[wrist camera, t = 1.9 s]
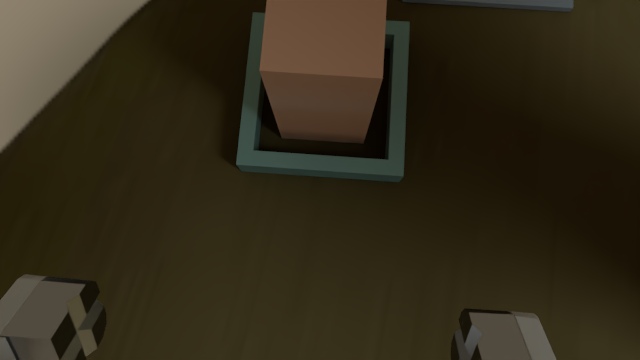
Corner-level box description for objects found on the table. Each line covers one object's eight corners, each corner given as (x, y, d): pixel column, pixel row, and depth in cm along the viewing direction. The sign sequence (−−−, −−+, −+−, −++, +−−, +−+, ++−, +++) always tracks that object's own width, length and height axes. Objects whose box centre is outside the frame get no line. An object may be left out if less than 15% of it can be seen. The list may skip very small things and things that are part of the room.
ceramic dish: (404, 36, 33) (412, 13, 30) (398, 182, 31) (406, 172, 28) (257, 27, 34) (250, 4, 31) (241, 171, 32) (232, 160, 29)
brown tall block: (368, 67, 33) (388, -33, 22) (363, 143, 32) (382, 78, 21) (288, 61, 33) (270, -40, 22) (281, 138, 32) (259, 70, 21)
